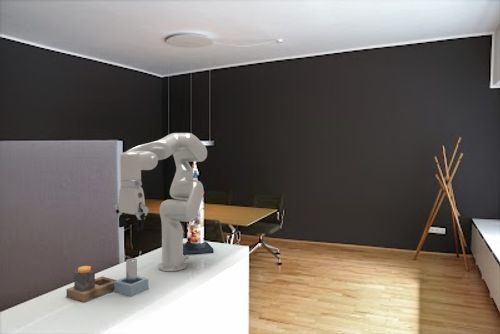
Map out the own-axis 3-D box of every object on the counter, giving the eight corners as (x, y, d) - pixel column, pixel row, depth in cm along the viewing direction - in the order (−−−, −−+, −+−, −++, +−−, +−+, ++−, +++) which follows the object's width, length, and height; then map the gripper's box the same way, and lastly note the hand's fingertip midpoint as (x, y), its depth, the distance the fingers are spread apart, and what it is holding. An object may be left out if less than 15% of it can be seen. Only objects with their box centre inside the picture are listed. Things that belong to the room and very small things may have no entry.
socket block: (102, 283, 156) (102, 261, 155) (119, 288, 151) (119, 265, 150) (66, 296, 142) (66, 273, 141) (84, 302, 137) (83, 277, 136)
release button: (85, 284, 145) (85, 265, 145) (93, 286, 143) (93, 267, 143) (75, 288, 142) (75, 268, 141) (83, 290, 139) (83, 270, 139)
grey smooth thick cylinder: (131, 287, 151) (131, 257, 151) (139, 289, 150) (139, 259, 149) (123, 290, 148) (123, 260, 147) (131, 293, 146) (131, 262, 145)
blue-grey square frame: (132, 284, 155) (132, 274, 155) (148, 288, 150) (148, 278, 150) (114, 291, 147) (114, 281, 147) (131, 296, 143) (130, 286, 142)
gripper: (154, 184, 146) (155, 229, 147) (122, 182, 154) (123, 224, 155) (140, 186, 139) (140, 232, 140) (107, 183, 148) (108, 227, 149)
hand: (131, 228), depth 148 cm, fingers open, 9 cm apart
